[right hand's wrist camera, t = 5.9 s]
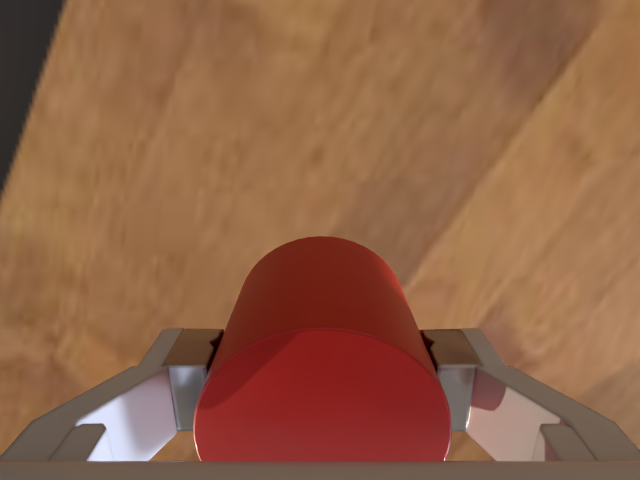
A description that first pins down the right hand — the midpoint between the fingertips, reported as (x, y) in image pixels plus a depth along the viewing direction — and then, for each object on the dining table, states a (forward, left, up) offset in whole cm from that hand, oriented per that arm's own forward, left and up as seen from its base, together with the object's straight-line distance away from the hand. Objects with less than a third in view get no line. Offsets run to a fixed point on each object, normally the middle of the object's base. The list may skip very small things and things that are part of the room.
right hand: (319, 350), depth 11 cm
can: (0, 0, -2) cm, 2 cm away
